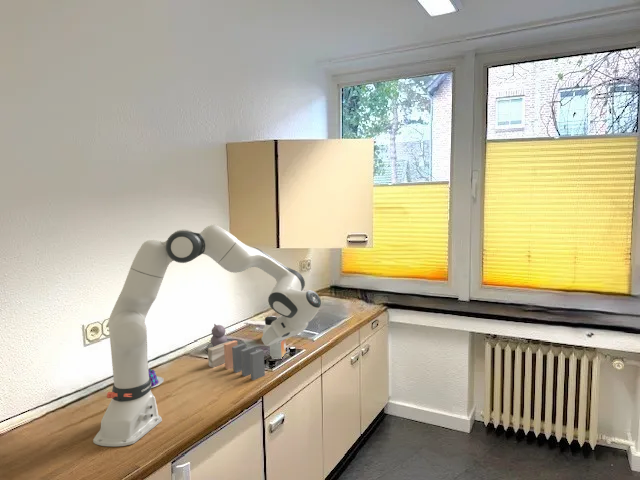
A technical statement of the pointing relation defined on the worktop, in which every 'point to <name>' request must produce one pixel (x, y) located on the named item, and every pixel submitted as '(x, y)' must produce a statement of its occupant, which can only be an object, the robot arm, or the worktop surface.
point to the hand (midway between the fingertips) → (276, 342)
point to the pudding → (154, 378)
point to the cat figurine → (218, 335)
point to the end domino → (229, 354)
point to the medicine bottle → (268, 322)
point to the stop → (216, 355)
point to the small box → (278, 349)
